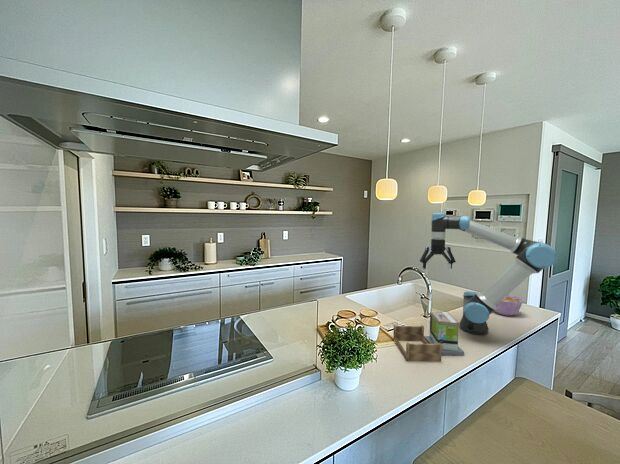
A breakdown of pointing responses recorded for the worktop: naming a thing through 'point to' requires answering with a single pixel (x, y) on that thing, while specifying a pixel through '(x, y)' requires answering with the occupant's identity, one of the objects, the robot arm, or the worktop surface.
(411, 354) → the walnut caddy
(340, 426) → the worktop surface
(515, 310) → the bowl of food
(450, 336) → the tea box
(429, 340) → the slate board
